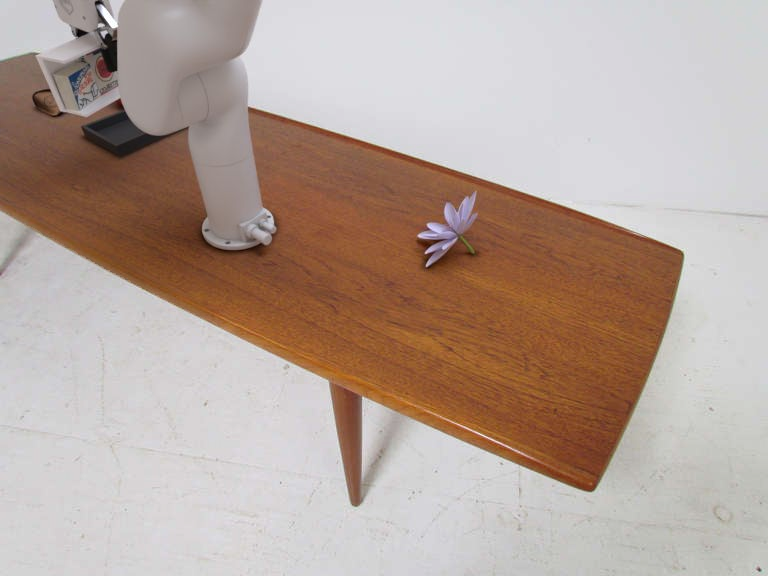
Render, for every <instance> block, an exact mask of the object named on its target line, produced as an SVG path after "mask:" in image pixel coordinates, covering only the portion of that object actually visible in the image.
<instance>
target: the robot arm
mask: <svg viewBox="0 0 768 576" xmlns="http://www.w3.org/2000/svg"><path fill="white" fill-rule="evenodd" d="M52 2H53V5H54V8H55V12H56V13H57V17H58V18H59V19H60V20H61V21H62V22H63V23H65V24H66V25H69V28H70V30H71V34H72V36H73V37H74V39H76V38H79V37H81V36H84V35H86V34H88V33H92V32H94V34H95V36H96V38H97V39H98V41H99V43H100V45H101V47H102V48H100V51H101V54H102V57H103V60H104V62H105V65H106V68H107V71H108V72H110V73H112V72H115V71H118V88H119V93H120V98H121V101H122V104H123V106H122V107H123V110H125V111H126V113H127V115H128V117H129V118H130V120H131V121H132V122H133V123H134V124H135V126H137V127H138V128H139V129H140V130H142V131H143V132H145V133H148V134H150V135H155V136H162V135H167V134H170V133H173V132H176V131H178V130H181V129H183V128H185V129H187V128H188V131H187V143H188V144H187V145H188V150H189V153H190V157H191V161H192V165H193V168H194V172H195V176H196V179H197V183H198V187H199V190H200V194H201V197H202V201H203V205H204V209H205V212H206V218H205V219H204V220H203V222H202V224H201V232H202V235H203V238H204V240H205V241H206V242H207V243H208V244H209V245H210V246H212V247H214V248H217V249H221V250H224V251H225V250H227V251H240V250H241V251H242V250H246V249H250V248H253V247H256V246H258V245H260V244H262V245H264V246H268V245H270V244H271V243H272V240H273V236H272V234H275V233H276V232H277V230H278V229H277V226H275V219H274V216H273V214H272V213H271V211H270V210H268V209H267V208H265V207H264V206H263V200H262V195H261V189H260V183H259V177H258V173H257V166H256V161H255V155H254V148H253V143H252V136H251V130H250V122H249V79H248V72H247V69H246V65H245V63H244V61H243V59H242V57H241V56H242V55H243V54H244V53H245V52H246V51H247V49H248V48H249V46H250V43H251V41H252V38H253V34H254V31H255V29H256V24H257V21H258V17H259V14H260V10H261V7H262V5H263V4H262V3H263V0H124V1H123V3H122V4H121V6H120V8H119V11H118V14H117V21H118V23H116V22H117V21H116V20H115V15H114V12H113V8H112V6H111V2H110V0H52ZM101 24H102V25H103V26H99V25H101ZM103 31H107V32H108V33H107V34H105V38H103V36H102V34H101V32H103ZM188 126H189V127H188ZM186 127H187V128H186ZM183 130H184V129H183ZM181 131H182V130H181ZM178 132H179V131H178ZM176 133H177V132H176Z"/></svg>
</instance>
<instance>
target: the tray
mask: <svg viewBox="0 0 768 576" xmlns="http://www.w3.org/2000/svg"><path fill="white" fill-rule="evenodd" d="M80 128H81V130H82V132H83V135H84V137H85V138H86V139H88V140H90V141H91V142H93V143H95V144H97V145H98V146H100V147H101V148H103V149H105V150H107V151H109V152H111V153H113V155H116V156H118V157H119V158H122V157H124V156H126V155H128V154H130V153H133V152H135V151H137V150H139V149H142V148H144V147H146V146H149V145H152V144H154V143H156V142H158V141H160V140H162V139H165V138H167V137H169V136H171V135H174V134H176V133H179V132H180V131H183V130H185V129H188V128H189V126H188V127H186V128H183V129H181V130H178V131H176V132H173V133H170V134H167V135H162V136H155V135H150V134H148V133H145V132H143V131H142V130H140V129H139V128H138V127H137V126H135V124H134V123H133V122H132V121H131V120H130V118H129V117H128V115H127V113H126V111H125V109H123V110H119V111H117V112H115V113H112V114H110V115H107V116H104V117H101V118H98V119H96V120H94V121H90V122H89V123H86V124H82V125H81V126H80Z"/></svg>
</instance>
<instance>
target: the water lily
mask: <svg viewBox="0 0 768 576" xmlns="http://www.w3.org/2000/svg"><path fill="white" fill-rule="evenodd" d="M476 198H477V190H475V191H474V192H473V193H472V195H471V196H470V197H469V195H467V196H465V198H464V199H463V200H462V202H461V203H460V205H459V208H458V210H456V208H455V207H454V205H453V204H452V203H451V202H449V201H448V202H446V203H445V206H444V209H443V210H444V211H443V213H444V214H443V215H444V218H445V220H446V223H447V224H441V223H439V222H433V221H432V222H428V223H426V226H427V228H428V229H429V230H425V231H422V232H420V233H419V234H417V236H416V237H418V238H420V239H423V240H428V241H429V240H430V241H433V240H434V241H437V240H438V241H439V240H442V241H439V242H437V243H434V244H432V245H431V246H430V247H428V249H426V250H425V252H424V255H427V254H430V253H432V255H431V256H430V257H429V259H428V260H427V262H426V264H425V268H428V267H429V266H431V265H433V264H434V263H435V262H437V261H438V260H440V259H441V258H442V257H443V256H444V255H445V254H446V253H447V252H448V251H449V250H450V249H451V247H453V245H455V243H456V242H457V241H458V239H459V240H460V241H461V243H463V245H464V247H466V248H467V250H468V251H469V252H470V253H471V255H473V254H474V253H475V250H474V249H473V248H472V246H471V245H470V244H469V243H468V241H467V240H466V239H465V238H464V237H463V236H462V234H464V233H465V232H467V231H468V230H469V229H470V228H471V227H472V226H473V224H474V222H475V221H476V219H477V217H478V214H479V213H478V212H475V213H473V212H472V211H473V209H474V206H475V202H476ZM472 213H473V214H472ZM471 214H472V215H471ZM433 252H434V253H433Z"/></svg>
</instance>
